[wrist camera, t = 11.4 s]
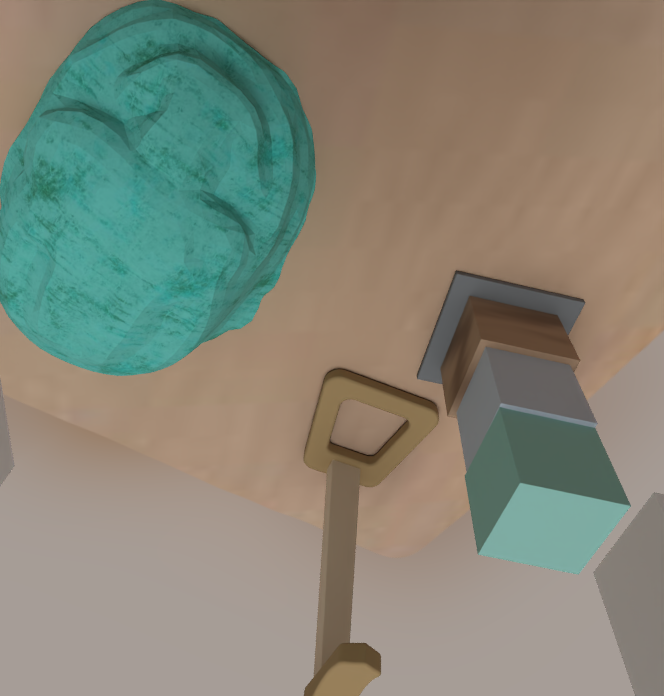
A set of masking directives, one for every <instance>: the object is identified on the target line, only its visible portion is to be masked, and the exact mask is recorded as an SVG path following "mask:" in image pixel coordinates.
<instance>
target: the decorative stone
mask: <svg viewBox="0 0 664 696" xmlns="http://www.w3.org/2000/svg"><path fill="white" fill-rule="evenodd" d="M315 182H316V170H315V153H314V143H313V135H312V129H311V126H310V124H309V122H308V119H307V117H306V115H305V113H304V111H303V109H302V106H301V102H300V99H299V95H298V92H297V89H296V87H295V86H294V84H293V83H292V81H291V80H290V79H289V77H288V76H287V74H286V73H285V72H284V71H282V70H281V69H279V68H278V67H276V66H275V65H273V64H272V63H271V62H269V61H268V60H267V59H265V58H264V57H263V56H261V55H260V54H259V53H258V52H257V51H255V50H254V49H253V48H251V47H250V46H249V45H247V44H246V43H245V42H244V41H242V40H241V39H240V38H239V37H238V36H236V35H235V34H234V33H233V32H232V31H231V30H230V29H228V28H227V27H226V26H225V25H224V24H223V23H221V22H220V21H219V20H217V19H215V18H213V17H209V16H206V15H203V14H199V13H196V12H193V11H191V10H189V9H186V8H184V7H182V6H179V5H177V4H174V3H170V2H166V1H162V0H147V1H140V2H136V3H134V4H131V5H128V6H125V7H123V8H120V9H119V10H117V11H115V12H113V13H111V14H110V15H108V16H106V17H104V18H103V19H102V20H101V21H99V22H98V23H97V24H95V25H94V26H92V27H91V28H90V29H89V30H88V32H87V33H86V34H85V35H84V37H83V38H82V39H81V40H80V41H79V43H78V44H77V45H76V46H75V48H74V49H73V50H72V52H71V53H70V55H69V56H68V57H67V58H66V60H65V61H64V62H63V63H62V64H61V65H60V67H59V68H58V69H57V71H56V72H55V73H54V75H53V76H52V77H51V78H50V80H49V82H48V84H47V85H46V87H45V89H44V92H43V94H42V96H41V98H40V100H39V102H38V104H37V106H36V108H35V110H34V111H33V113H32V115H31V117H30V119H29V121H28V122H27V124H26V126H25V127H24V128H23V130H22V131H21V133H20V134H19V136H18V137H17V139H16V140H15V142H14V143H13V145H12V146H11V148H10V149H9V152H8V155H7V157H6V160H5V162H4V167H3V172H2V176H1V183H0V199H1V205H2V207H1V210H0V302H1V304H2V306H3V307H4V309H5V311H6V313H7V315H8V317H9V318H10V319H11V320H12V322H13V323H14V324H15V325H16V326H17V327H18V329H19V330H20V331H21V332H22V333H23V334H24V335H25V336H26V337H27V338H28V339H29V340H30V341H32V342H33V343H34V344H35V345H37V346H38V347H39V348H40V349H42V350H44V351H46V352H47V353H49V354H51V355H53V356H55V357H57V358H59V359H61V360H63V361H65V362H68V363H70V364H73V365H76V366H78V367H81V368H84V369H87V370H90V371H94V372H98V373H103V374H109V375H116V376H125V375H137V374H144V373H151V372H154V371H158V370H161V369H164V368H166V367H168V366H171V365H173V364H174V363H176V362H178V361H179V360H181V359H182V358H184V357H185V356H186V355H188V354H189V353H190V352H192V351H193V350H194V349H195V348H197V347H198V346H199V345H200V344H201V343H203V342H206V341H209V340H211V339H214V338H216V337H218V336H219V335H221V334H223V333H225V332H226V331H228V330H233V329H240V328H242V327H243V326H245V325H246V324H248V323H249V322H251V321H252V319H253V317H254V315H255V313H256V312H257V310H258V308H259V305H260V302H261V299H262V298H263V296H264V295H265V294H267V293H268V292H269V291H270V290H272V289H273V288H274V286H275V284H276V283H277V281H278V279H279V277H280V273H281V270H282V267H283V264H284V262H285V259H286V256H287V254H288V252H289V250H290V248H291V246H292V245H293V243H294V242H295V240H296V238H297V237H298V235H299V233H300V231H301V229H302V227H303V225H304V222H305V220H306V215H307V211H308V207H309V204H310V201H311V199H312V196H313V193H314V190H315Z"/></svg>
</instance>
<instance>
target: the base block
mask: <svg viewBox="0 0 664 696" xmlns="http://www.w3.org/2000/svg"><path fill="white" fill-rule="evenodd" d="M485 347H490V348H494V349H499V350H504V351H508V352H513V353H517V354H522V355H527V356H531V357H536V358H540V359H545V360H549V361H554V362H559V363H563V364H568V365H570V366H571V368H572V370H573V372H574V371H575V369H576V368H577V366H578V364H579V362H580V359H579V357H578V355H577V353H576V351H575V349H574V347H573V345H572V343H571V341H570V339H569V337H568V335H567V333H566V331H565V329H564V327H563V325H562V323H561V321H560V319H559V317H558V315H554V314H549V313H545V312H541V311H536V310H532V309H527V308H523V307H518V306H514V305H509V304H505V303H500V302H496V301H491V300H487V299H483V298H478V297H474V296H469V298H468V300H467V303H466V305H465V308H464V310H463V313H462V315H461V318H460V320H459V323H458V325H457V328H456V330H455V333H454V335H453V338H452V340H451V343H450V345H449V348H448V350H447V353H446V355H445V358H444V360H443V363H442V365H441V368H440V370H441V376H442V383H443V389H444V396H445V402H446V409H447V416H448V417H453V418H457V410H458V408H459V406H460V403H461V401H462V399H463V397H464V394H465V392H466V390H467V388H468V385H469V383H470V381H471V379H472V376H473V374H474V372H475V369H476V367H477V365H478V363H479V360H480V358H481V356H482V354H483V351H484V349H485Z"/></svg>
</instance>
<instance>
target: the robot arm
mask: <svg viewBox="0 0 664 696" xmlns="http://www.w3.org/2000/svg"><path fill="white" fill-rule="evenodd" d="M13 467H14V460H13V454H12V448H11V441H10V436H9V429H8V423H7V417H6V411H5V405H4V399H3V392H2V386H1V380H0V486H1V484H2V483H3V481H4V480H5V479H6V477H7V476H8V474H9V473H10V472H11V470H12V469H13ZM594 576H595V579H596V581H597V585H598V588H599V591H600V593H601V596H602V599H603V602H604V605H605V608H606V611H607V614H608V617H609V620H610V623H611V626H612V629H613V632H614V635H615V638H616V640H617V643H618V646H619V649H620V652H621V655H622V658H623V661H624V664H625V667H626V670H627V672H628V675H629V679H630V682H631V685H632V688H633V691H634V693H635V696H664V494H659V493H653V494H652V496H651V497H650V498H649V499H648V501H647V502H646V504H645V505H644V506H643V508H642V509H641V510H640V511H639V513H638V514H637V515H636V517H635V518H634V519H633V521H632V522H631V523H630V525H629V526H628V527H627V529H626V530H625V531H624V533H623V534H622V535H621V537H620V538H619V539H618V541H617V542H616V543H615V544H614V546H613V547H612V548H611V550H610V551H609V553H608V554H607V555H606V557H605V558H604V559H603V560H602V562H601V563H600V564H599V566H598V567H597V568H596V570H595V571H594Z"/></svg>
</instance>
